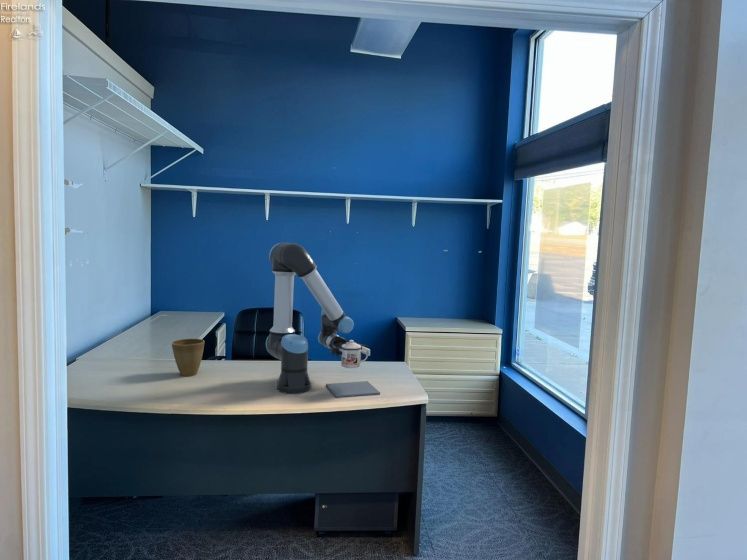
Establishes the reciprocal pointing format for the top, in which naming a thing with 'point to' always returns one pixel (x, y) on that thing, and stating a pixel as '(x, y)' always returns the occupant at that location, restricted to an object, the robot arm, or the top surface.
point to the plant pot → (188, 355)
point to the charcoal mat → (352, 389)
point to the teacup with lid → (352, 355)
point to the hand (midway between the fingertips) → (358, 353)
